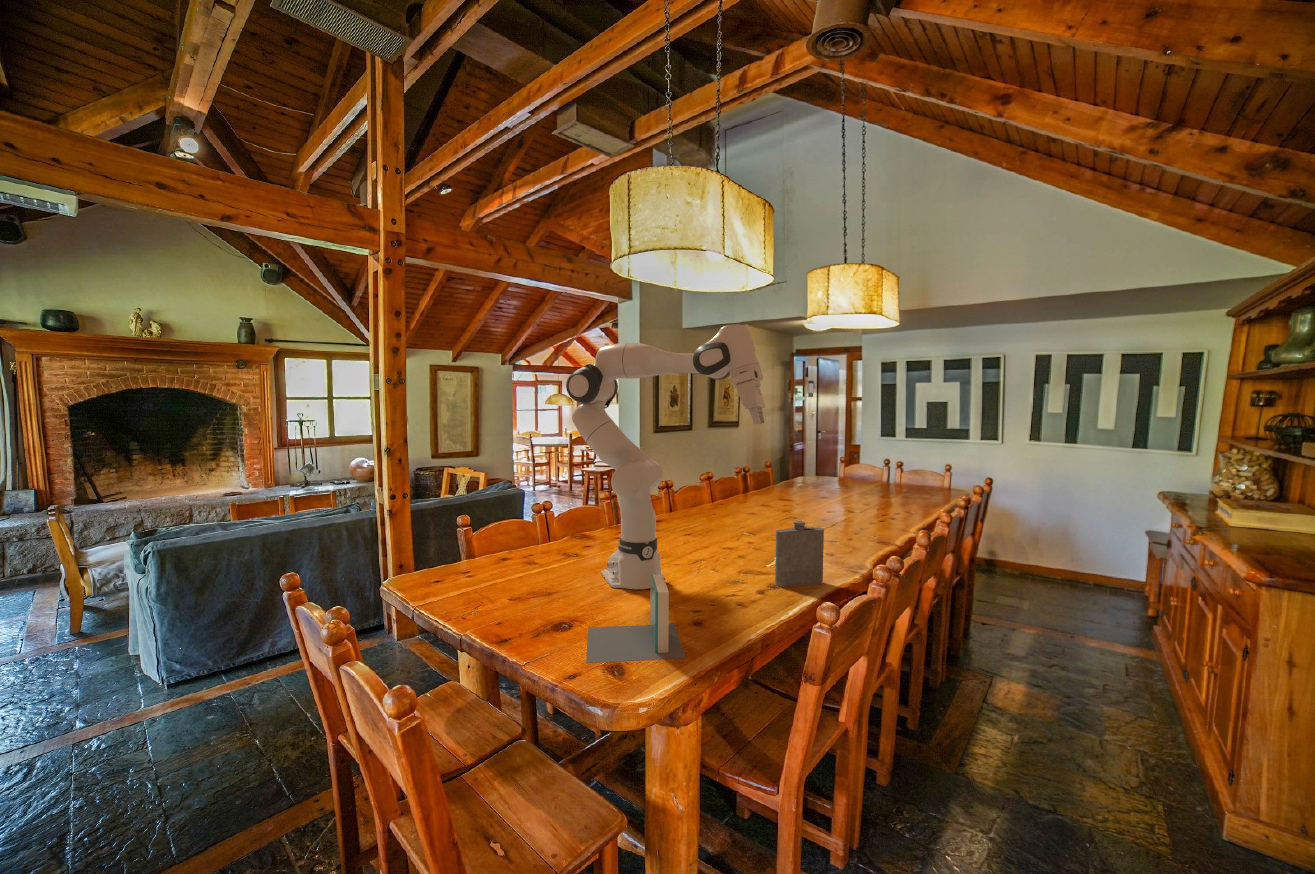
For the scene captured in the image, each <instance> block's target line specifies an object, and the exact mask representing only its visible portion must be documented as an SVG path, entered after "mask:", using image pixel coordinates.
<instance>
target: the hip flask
mask: <svg viewBox="0 0 1315 874" xmlns="http://www.w3.org/2000/svg"><path fill="white" fill-rule="evenodd" d="M805 525H806V522H805V521H803V520H793V528H783V529H782V528H781V529H776V530H775V565H774V566H775V570H774V571H775V574H774V575H775V576H774V586H775V587H776V586H778V587H777V588H780V587H783V588H786V587H785V586H789V587H795V586H796V587H798V586H797V585H799V586H816V585H817V586H819V585H820V586H821V585H823V583H824V582H823V580H824V579H823V578H824V541H825V540H824V538H825V528H821V527H813V526H805Z"/></svg>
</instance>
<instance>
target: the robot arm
mask: <svg viewBox="0 0 1315 874" xmlns="http://www.w3.org/2000/svg"><path fill="white" fill-rule="evenodd" d="M594 360H595V361H594V364H592V363H586V364H585V365H584V366H583V367H581V368H578V369H576V370H575V371H573V372H572V373H571V374H570V375H569V376H568V377H567V380H566V383H565V385H566V387H565V388H566V392H567V394H568V396H569V397H570V398H571V399H572V400H574V401H575V402H577V403H578V406H577V407H576V408H575V409H574V410H573V412H572V415H571V419H572V420H571V421H572V423H573V425H574V426H575V428H576V430H577V432H578V433H579V435H580V436H581V437H582V439H583V440H584V442H585V443H586V444H587V445H588V446H589V448H590V449H591V451H592V452H594V454H595V455H596V456H597V457H598V459H599V460H600V461H601V462H602V463H604V464H606V465H607V466H609V467H610V468H612V469H613V470H615V471H614V472H613V473H612V475H611V480H610V485H611V489H612V491H613V492H614V493H615V495H616V498H617V502H618V506H619V513H620V537H618V546H617V550H615V552H613V553H612V554H611V555H610V556H609V557H608V561H607V562H606V567H607V568H604V569H602V570H601V573H602V574H601V576H603V578H604V577H605V578H604V579H605V581H606V582H607V583H608V585H609V586H610V587H611V588H615V589H628V590H645V589H650V575H662V574H663V577H664V578H665V574H664V573H662V568H661V567H662V566H661V565H662V564H661V554H660V553H659V552H658V551H657V550H658V538H657V515H656V514H657V513H656V511H655V509H654V508H653V504H652V498H651V492H652V491H654V490H656V489H657V488H658V487H659V485H660V484H661V482H662V480H663V478H664V471H663V468H662V466H661V465H660V464H659V462H657V461H656V460H654V459H652V458H651V457H650V456H649V455H648V454H647V453H646V452H644V451H643V450H642V449H641V448H640V447H638V446H637V445H636V444H635V443H634V442H632V441H631V440H630V438H628V436H626V434H625V433H624V432H623V431H622V430H621V428H620V427H619V426H618V425H617V424H616V422H614V420H613V419H612V418H611V417H610V415H609V414H608V413H607V412H606V409H607V408H609V407H610V405H611V403H612V401H613V399H614V398H615V397H616V395H617V393H618V391H619V386H618V385H619V384H618V381H617V379H632V380H633V379H645V378H650V377H655V376H663V375H668V374H698V375H703V376H705V377H708V378H711V379H713V380H716V381H722V380H726V379H727V378H728V377H730V379H731V382H732V387H733V388H734V389H736V391H737V394H738V396H739V398H740V399H739V400H740V401H741V405H742V407H743V409H745V410H748V411H749V414H750V416H751V419H752V421H753V424H754V425H763V424H765V417H764V416H765V415H764V411H763V409H764V408H765V405H766V404H765V401H764V397H763V395H762V394H763V393H762V391H761V386H762V385H761V381H763V380H764V375H763V371H762V368H761V364H760V362H759V360H758V359H757V356H756V347H755V344H754V341H753V337H752V335H751V332H750V330H749V329H748V327H747V326H746V325H744V324H743V323H729V324H725V325H723V326H722V327H720V329H719V330H718V332H717V333H716V334H715V335H714V336H713V337H712V338H711V339H710V340H707V342H705V343H704V344H701V345H700V346H699V347H698V348H696V350H695V351H694V353H680V352H678V353H677V352H673V351H667V350H665V349H661V348H658V347H656V346H653V345H651V344H646V343H639V342H619V343H614V344H609V345H604V346H602V347H600V348H599V349H598V351H597V352H596V355H595V359H594Z"/></svg>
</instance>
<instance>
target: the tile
mask: <svg viewBox="0 0 1315 874" xmlns="http://www.w3.org/2000/svg"><path fill="white" fill-rule="evenodd" d="M663 574H664V573H662V575H650V588H649V589H650V590H649V591H650V593H649V594H650V595H649V596H650V597H649V598H650V600H649V601H650V611H649V612H650V614H649V616H650V619H649V620H650V622H649V623H650V624H649V625H650V631H651V635H652V640H653V645H654V649H655V653H665V652H668V630H669V624H670V623H669V621H670V619H669V617H670V616H669V615H670V614H669V611H670V609H669V607H670V606H669V605H670V602H669V601H670V596H669V595H670V594H669V593H670V592H669V588H668V586H667V583H666V581H665V576H664V577H663Z"/></svg>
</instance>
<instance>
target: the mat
mask: <svg viewBox="0 0 1315 874" xmlns="http://www.w3.org/2000/svg"><path fill="white" fill-rule="evenodd" d="M585 655H586V657H585V658H586V659H585V663H586V664H598V663H599V664H600V663H616V662H618V663H619V662H634V661H636V662H637V661H639V662H641V661H654V660H655V661H656V660H657V661H658V660H678V659H687V656H686V654H685V650H684V648H683V645H682V642H681V638H680V636H679V633H678V630H677V627H676V624H675V623H669V630H668V652H665V653H655V649H654V645H653V640H652V635H651V631H650V624H643V625H642V624H641V625H638V624H637V625H617V626H616V625H615V626H595V627H594V626H592V627H588V628H587V642H586V654H585Z"/></svg>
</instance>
